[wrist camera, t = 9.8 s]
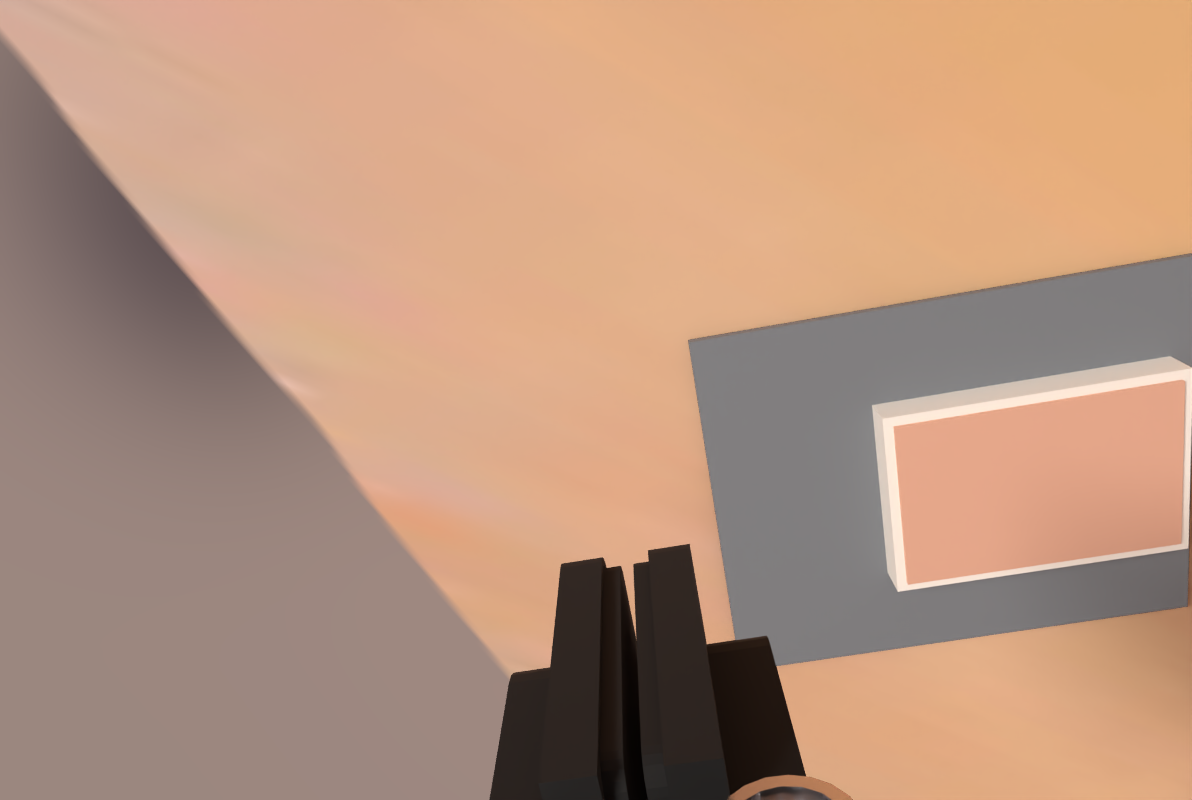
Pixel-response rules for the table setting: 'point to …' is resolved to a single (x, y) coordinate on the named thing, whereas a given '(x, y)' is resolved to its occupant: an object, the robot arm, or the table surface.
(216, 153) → the table surface
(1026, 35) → the table surface
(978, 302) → the mat
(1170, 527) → the tile
